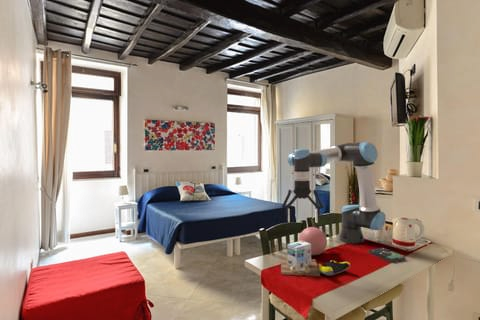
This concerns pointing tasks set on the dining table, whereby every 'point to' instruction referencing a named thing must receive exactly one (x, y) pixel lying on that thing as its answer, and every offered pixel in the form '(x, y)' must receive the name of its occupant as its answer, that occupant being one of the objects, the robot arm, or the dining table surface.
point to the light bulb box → (299, 254)
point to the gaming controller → (333, 267)
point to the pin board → (308, 270)
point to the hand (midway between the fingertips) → (302, 221)
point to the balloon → (314, 239)
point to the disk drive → (387, 255)
